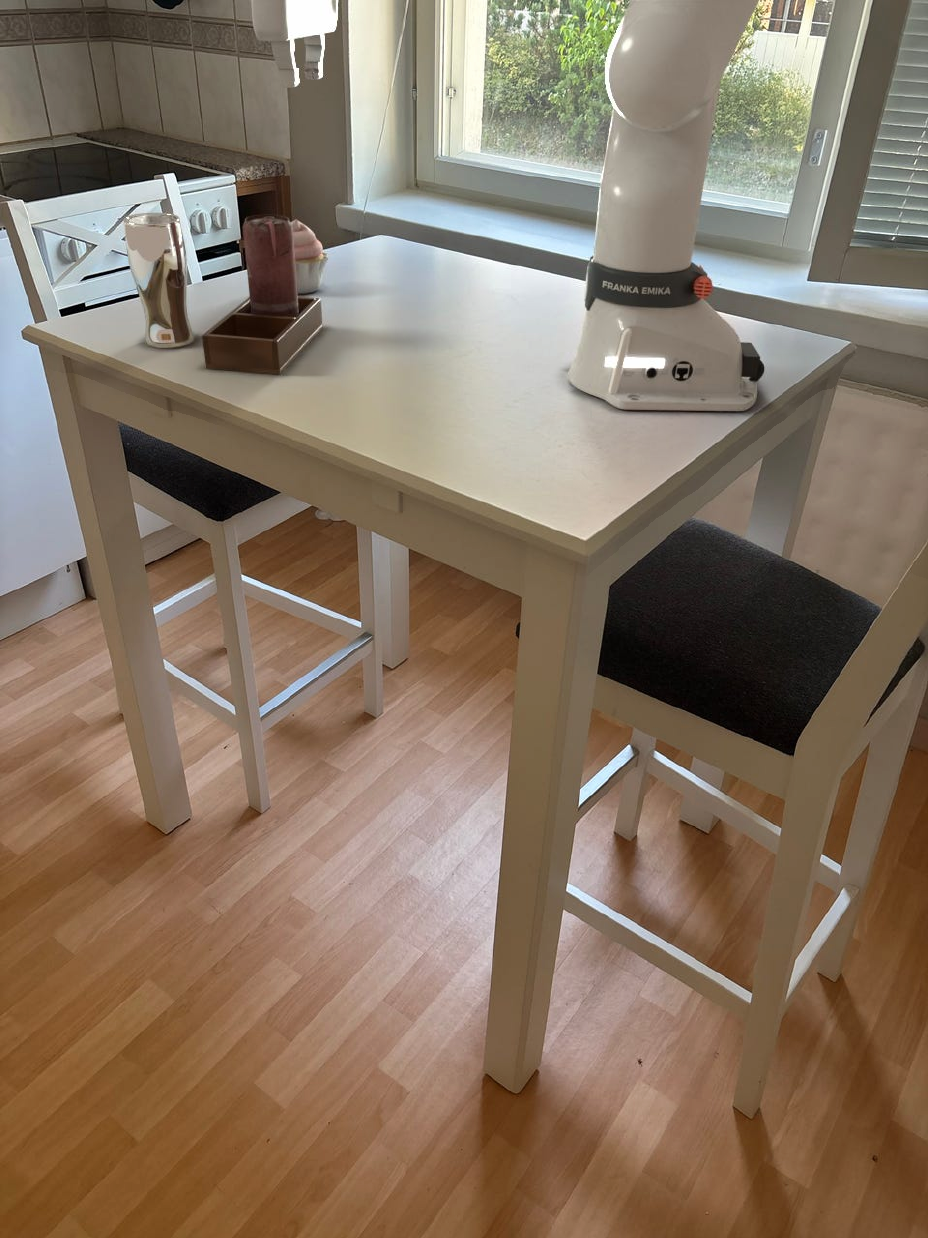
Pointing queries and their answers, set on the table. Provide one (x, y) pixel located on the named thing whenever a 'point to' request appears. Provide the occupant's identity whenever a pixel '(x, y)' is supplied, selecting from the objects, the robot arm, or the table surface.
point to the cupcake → (307, 258)
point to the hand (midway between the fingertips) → (302, 82)
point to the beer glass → (160, 276)
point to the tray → (261, 338)
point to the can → (271, 265)
